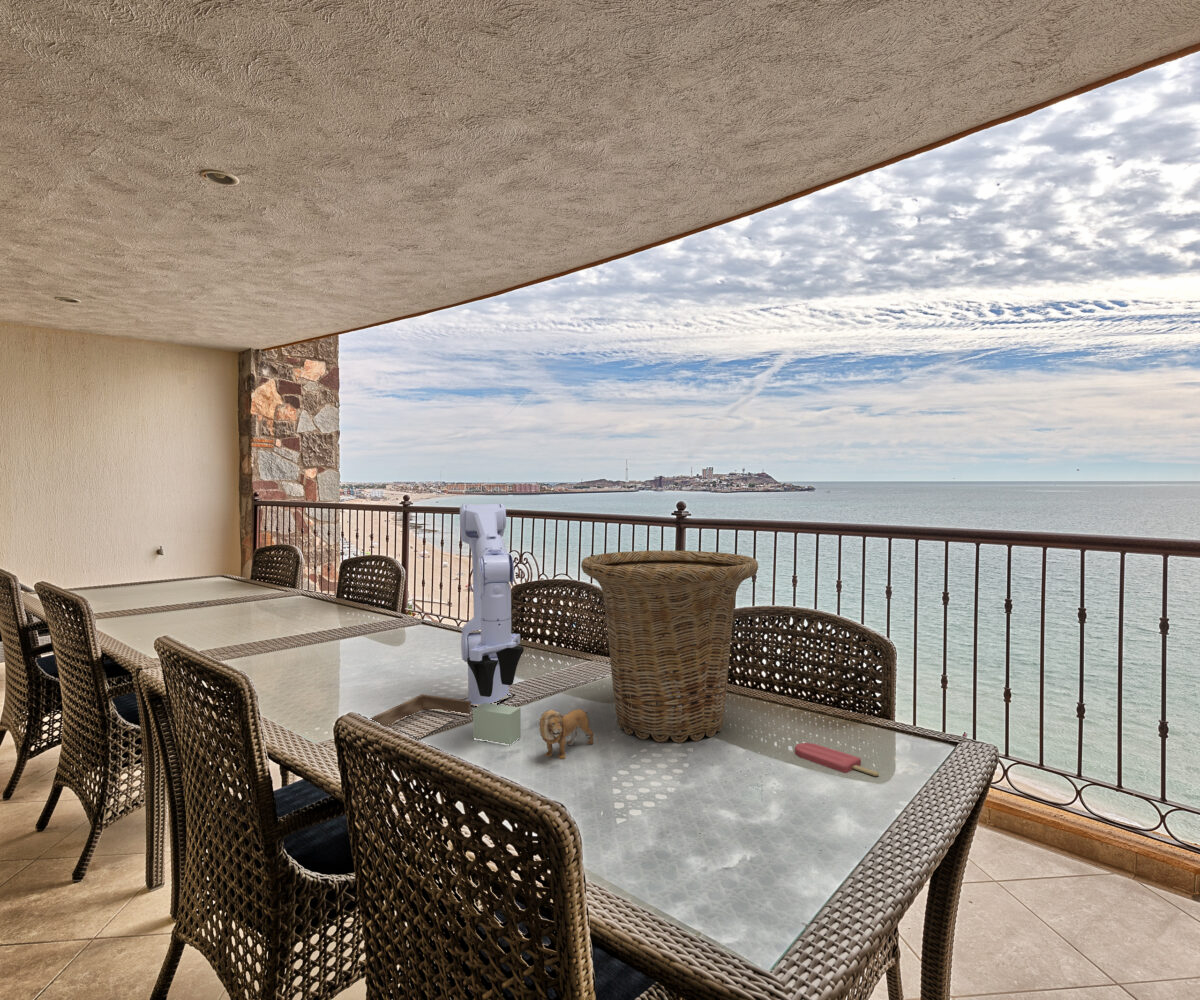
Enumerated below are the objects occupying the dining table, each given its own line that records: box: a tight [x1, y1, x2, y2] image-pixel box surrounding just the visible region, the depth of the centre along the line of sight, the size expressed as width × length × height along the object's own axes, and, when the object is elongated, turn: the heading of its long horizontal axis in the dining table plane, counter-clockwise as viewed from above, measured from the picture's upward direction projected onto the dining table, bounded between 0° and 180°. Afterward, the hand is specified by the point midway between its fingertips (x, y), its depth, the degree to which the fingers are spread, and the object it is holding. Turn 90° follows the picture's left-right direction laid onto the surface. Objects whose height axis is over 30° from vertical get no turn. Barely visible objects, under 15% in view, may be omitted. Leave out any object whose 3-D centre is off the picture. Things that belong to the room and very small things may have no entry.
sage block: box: [472, 703, 522, 745], centre depth 125 cm, size 4×8×6 cm, turn 68°
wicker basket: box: [580, 550, 759, 744], centre depth 133 cm, size 35×35×33 cm
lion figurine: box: [538, 708, 594, 760], centre depth 120 cm, size 15×5×9 cm, turn 151°
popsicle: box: [794, 742, 879, 777], centre depth 114 cm, size 5×2×15 cm
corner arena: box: [369, 693, 472, 740], centre depth 134 cm, size 16×12×3 cm
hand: (496, 690), depth 125 cm, fingers open, 7 cm apart
